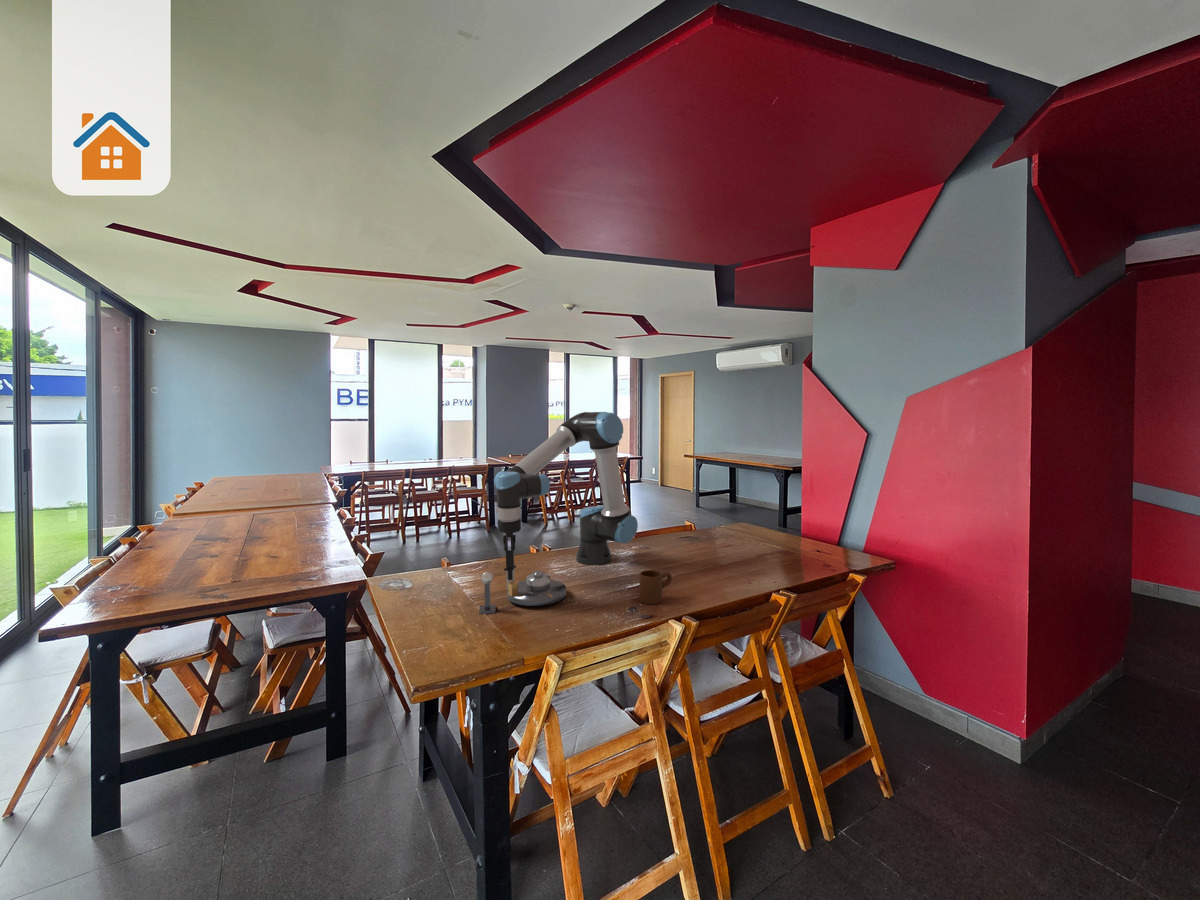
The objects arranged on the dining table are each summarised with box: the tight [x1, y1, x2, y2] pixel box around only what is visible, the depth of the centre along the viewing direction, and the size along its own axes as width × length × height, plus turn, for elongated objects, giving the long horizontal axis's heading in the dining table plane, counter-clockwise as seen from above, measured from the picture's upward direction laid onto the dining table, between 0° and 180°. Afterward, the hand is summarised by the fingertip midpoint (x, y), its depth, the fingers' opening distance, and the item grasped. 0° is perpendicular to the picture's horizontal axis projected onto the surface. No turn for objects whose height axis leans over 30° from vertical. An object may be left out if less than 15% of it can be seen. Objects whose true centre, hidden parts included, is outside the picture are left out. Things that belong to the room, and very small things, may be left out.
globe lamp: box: [478, 571, 497, 615], centre depth 157 cm, size 5×5×13 cm
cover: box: [526, 570, 551, 592], centre depth 168 cm, size 8×8×6 cm
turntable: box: [506, 578, 567, 607], centre depth 168 cm, size 20×20×6 cm
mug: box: [638, 569, 673, 605], centre depth 166 cm, size 12×8×9 cm, turn 114°
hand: (510, 588), depth 164 cm, fingers closed
